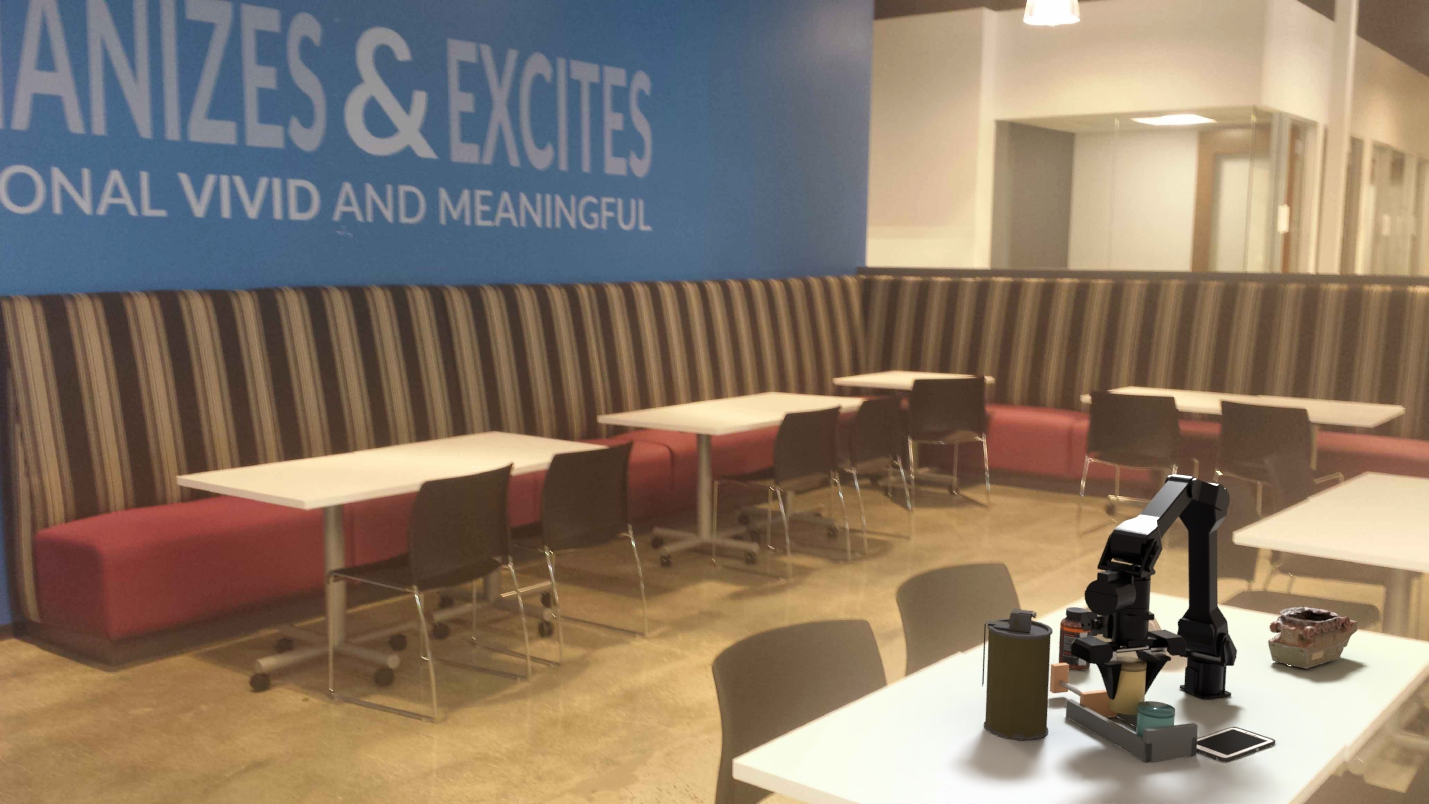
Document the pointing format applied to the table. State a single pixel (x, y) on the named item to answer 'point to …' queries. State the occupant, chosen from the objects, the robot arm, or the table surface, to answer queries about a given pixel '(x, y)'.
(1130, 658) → the ochre jar
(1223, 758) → the cell phone
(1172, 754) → the lane
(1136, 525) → the robot arm
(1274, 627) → the decorative box
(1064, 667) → the pusher
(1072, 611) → the supplement bottle
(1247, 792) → the table surface
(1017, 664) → the canister
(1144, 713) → the jar
